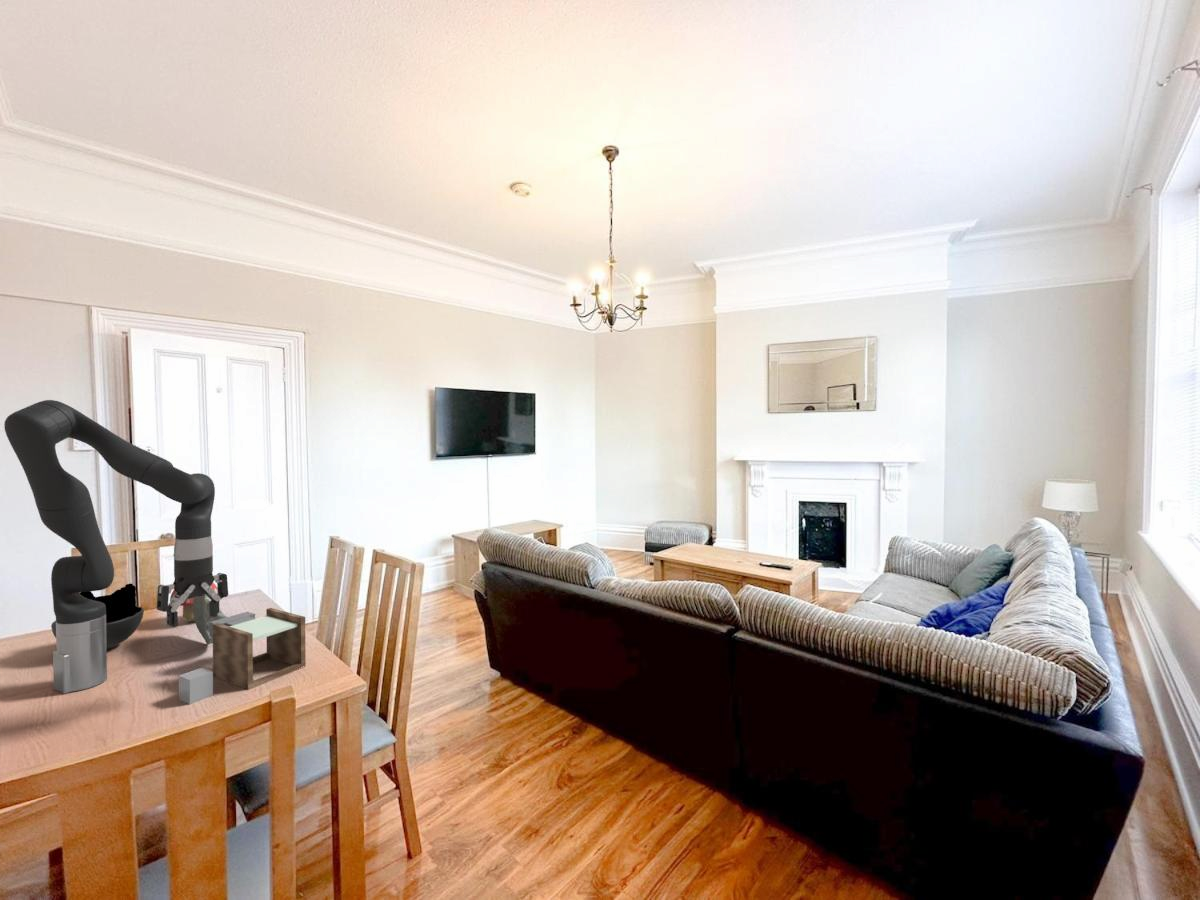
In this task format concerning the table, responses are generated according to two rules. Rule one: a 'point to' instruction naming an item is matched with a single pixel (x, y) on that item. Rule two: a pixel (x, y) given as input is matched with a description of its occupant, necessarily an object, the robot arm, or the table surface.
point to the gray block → (195, 685)
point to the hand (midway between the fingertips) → (194, 621)
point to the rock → (204, 616)
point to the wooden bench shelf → (238, 659)
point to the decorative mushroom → (190, 605)
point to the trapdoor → (254, 625)
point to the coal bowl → (117, 614)
